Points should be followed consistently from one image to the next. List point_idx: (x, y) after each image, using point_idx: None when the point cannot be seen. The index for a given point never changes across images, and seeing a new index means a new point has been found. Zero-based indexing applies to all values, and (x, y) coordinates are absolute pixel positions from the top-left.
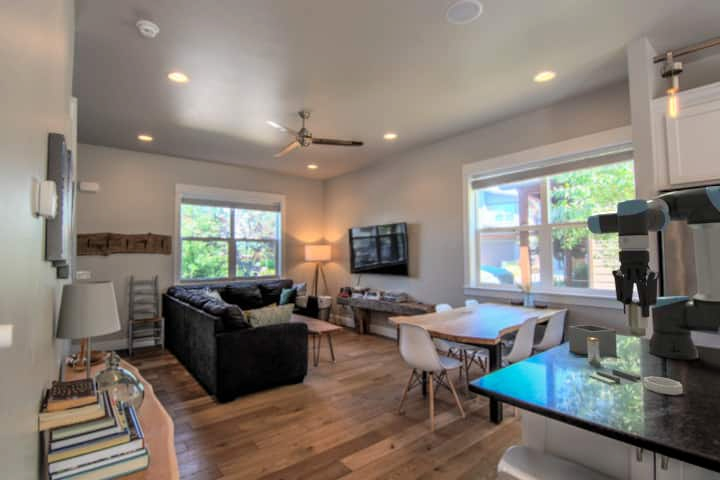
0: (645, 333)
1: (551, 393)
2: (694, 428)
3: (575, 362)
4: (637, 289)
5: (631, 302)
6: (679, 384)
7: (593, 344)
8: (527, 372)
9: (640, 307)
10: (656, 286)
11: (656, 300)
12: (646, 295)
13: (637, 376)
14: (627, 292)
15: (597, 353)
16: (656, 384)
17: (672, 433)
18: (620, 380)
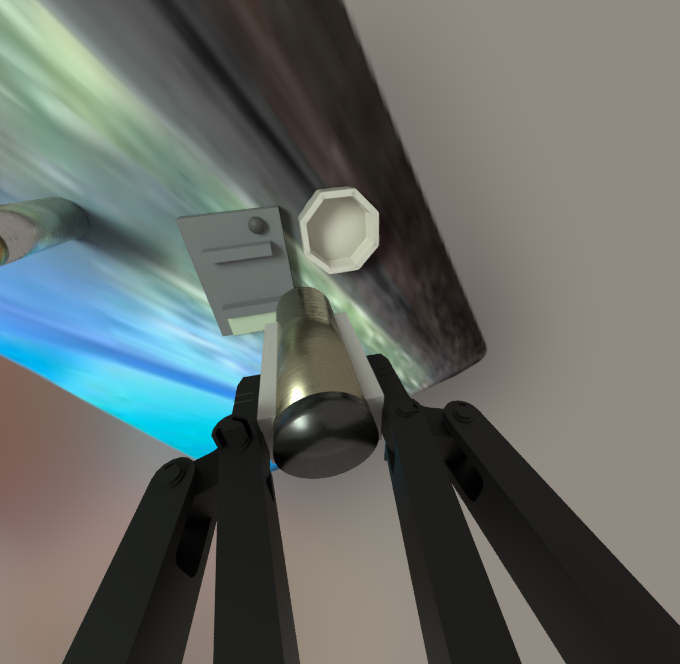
0: (326, 300)
1: None
2: (449, 312)
3: None
4: (423, 613)
5: (322, 473)
6: (370, 210)
7: (20, 254)
8: (171, 409)
9: (379, 431)
10: (655, 612)
11: (496, 430)
12: (477, 520)
13: (253, 223)
14: (287, 583)
15: (48, 228)
16: (354, 269)
17: (444, 349)
18: (268, 283)
